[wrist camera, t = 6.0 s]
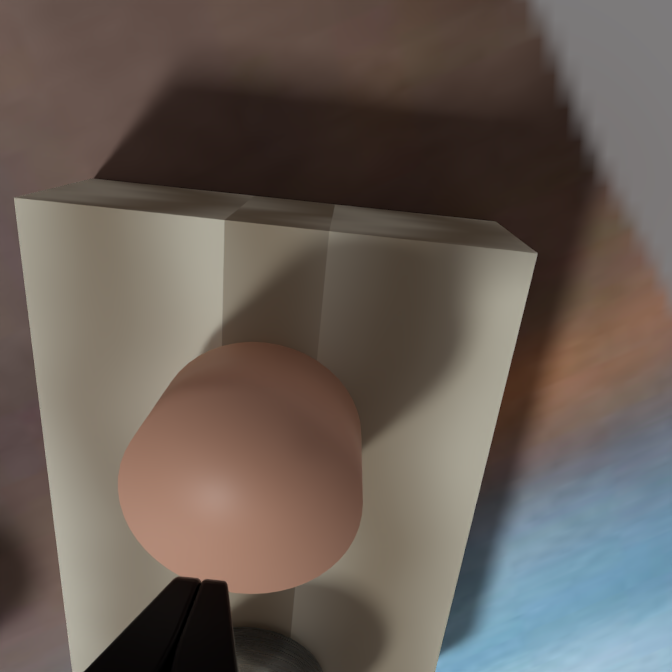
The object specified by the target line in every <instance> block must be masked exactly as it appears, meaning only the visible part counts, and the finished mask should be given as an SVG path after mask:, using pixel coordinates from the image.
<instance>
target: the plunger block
mask: <svg viewBox="0 0 672 672" xmlns="http://www.w3.org/2000/svg"><path fill="white" fill-rule="evenodd" d="M14 202H15V210H16V218H17V226H18V234H19V242H20V250H21V258H22V267H23V275H24V283H25V291H26V299H27V307H28V315H29V323H30V332H31V340H32V348H33V356H34V364H35V372H36V380H37V388H38V397H39V405H40V413H41V421H42V429H43V437H44V445H45V454H46V462H47V470H48V478H49V486H50V494H51V502H52V510H53V519H54V527H55V535H56V543H57V551H58V559H59V567H60V575H61V584H62V592H63V600H64V608H65V616H66V624H67V632H68V640H69V649H70V657H71V665H72V672H84V671H85V670H86V669H87V668H88V667H89V666H90V665H91V664H92V662H93V661H94V660H95V659H96V658H97V657H98V656H99V655H100V654H101V653H102V652H103V651H104V650H105V649H106V648H107V647H108V646H109V645H110V644H111V643H112V642H113V641H114V640H115V639H116V638H117V637H118V636H119V635H120V634H121V633H122V631H123V630H124V629H125V628H126V627H127V626H128V625H129V624H130V623H131V622H132V621H133V620H134V619H135V618H136V617H137V616H138V615H139V614H140V613H141V612H142V611H143V610H144V609H145V608H146V607H147V606H148V605H149V604H150V603H151V602H152V600H153V599H154V598H155V597H156V596H157V595H158V594H159V593H160V592H161V591H162V590H163V589H164V588H165V587H166V586H167V585H168V584H169V583H170V582H171V581H172V580H173V579H174V578H176V577H178V576H179V575H177V574H176V573H174V572H172V571H171V570H169V569H167V568H166V567H165V566H163V565H162V564H161V563H159V562H158V561H157V560H156V559H155V558H153V557H152V556H151V555H150V554H149V553H148V552H147V551H146V550H145V549H144V548H143V546H142V545H141V544H140V543H139V542H138V540H137V539H136V538H135V536H134V534H133V533H132V531H131V530H130V528H129V526H128V524H127V522H126V520H125V518H124V515H123V512H122V509H121V506H120V502H119V495H118V474H119V469H120V463H121V461H122V458H123V455H124V452H125V450H126V448H127V447H128V445H129V443H130V441H131V440H132V438H133V437H134V435H135V434H136V432H137V431H138V429H139V428H140V426H141V425H142V424H143V422H144V421H145V419H146V418H147V416H148V415H149V413H150V412H151V410H152V409H153V408H154V406H155V405H156V403H157V402H158V400H159V399H160V397H161V396H162V394H163V393H164V392H165V390H166V389H167V387H168V386H169V384H170V383H171V381H172V380H173V379H174V378H175V376H176V375H177V374H178V372H179V371H180V370H181V369H183V368H184V367H185V366H186V365H187V364H188V363H189V362H191V361H192V360H194V359H195V358H197V357H198V356H200V355H202V354H204V353H206V352H208V351H210V350H212V349H215V348H218V347H221V346H224V345H229V344H234V343H242V342H265V343H271V344H277V345H282V346H285V347H288V348H292V349H295V350H297V351H299V352H302V353H304V354H306V355H308V356H310V357H311V358H313V359H315V360H317V361H318V362H320V363H321V364H322V365H324V366H325V367H326V368H328V369H329V370H330V371H331V372H332V373H333V374H334V375H335V376H336V377H337V378H338V379H339V380H340V381H341V383H342V384H343V385H344V387H345V388H346V389H347V391H348V392H349V394H350V396H351V398H352V399H353V401H354V404H355V406H356V409H357V411H358V415H359V419H360V424H361V437H362V484H363V507H362V517H361V521H360V526H359V529H358V531H357V534H356V536H355V539H354V540H353V542H352V544H351V545H350V547H349V549H348V550H347V551H346V553H345V554H344V555H343V556H342V557H341V559H340V560H339V561H338V562H337V563H335V564H334V565H333V566H332V567H331V568H330V569H329V570H327V571H326V572H324V573H323V574H321V575H320V576H318V577H316V578H315V579H313V580H311V581H309V582H307V583H304V584H302V585H299V586H296V587H294V588H290V589H286V590H282V591H277V592H271V593H260V594H243V593H232V592H229V599H230V607H231V615H232V623H233V627H254V628H261V629H266V630H270V631H274V632H277V633H280V634H282V635H285V636H287V637H289V638H291V639H293V640H295V641H296V642H298V643H299V644H301V645H302V646H303V647H305V648H306V649H307V650H308V651H309V652H310V653H311V654H312V655H313V656H314V657H315V658H316V660H317V661H318V662H319V664H320V666H321V668H322V670H323V672H435V670H436V665H437V661H438V657H439V653H440V649H441V645H442V641H443V637H444V633H445V629H446V625H447V621H448V617H449V613H450V609H451V604H452V600H453V596H454V592H455V588H456V584H457V580H458V576H459V572H460V568H461V564H462V560H463V556H464V552H465V548H466V543H467V539H468V535H469V531H470V527H471V523H472V519H473V515H474V511H475V507H476V503H477V499H478V495H479V491H480V487H481V482H482V478H483V474H484V470H485V466H486V462H487V458H488V454H489V450H490V446H491V442H492V438H493V434H494V430H495V425H496V421H497V417H498V413H499V409H500V405H501V401H502V397H503V393H504V389H505V385H506V381H507V377H508V373H509V369H510V364H511V360H512V356H513V352H514V348H515V344H516V340H517V336H518V332H519V328H520V324H521V320H522V316H523V312H524V308H525V303H526V299H527V295H528V291H529V287H530V283H531V279H532V275H533V271H534V267H535V263H536V259H537V255H538V253H537V252H535V251H534V250H533V249H531V248H530V247H529V246H527V245H526V244H525V243H523V242H522V241H521V240H519V239H518V238H517V237H516V236H514V235H513V234H512V233H510V232H509V231H508V230H506V229H505V228H504V227H502V226H501V225H500V224H498V223H497V222H496V221H486V220H477V219H468V218H458V217H449V216H439V215H430V214H421V213H411V212H402V211H393V210H383V209H374V208H365V207H355V206H346V205H336V204H327V203H318V202H308V201H299V200H290V199H280V198H271V197H262V196H252V195H243V194H233V193H224V192H215V191H205V190H196V189H187V188H177V187H168V186H159V185H149V184H140V183H130V182H121V181H112V180H102V179H88V180H84V181H80V182H76V183H72V184H68V185H64V186H60V187H56V188H52V189H48V190H43V191H39V192H35V193H31V194H27V195H23V196H19V197H15V198H14Z"/></svg>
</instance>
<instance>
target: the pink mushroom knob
mask: <svg viewBox="0 0 672 672" xmlns="http://www.w3.org/2000/svg"><path fill="white" fill-rule="evenodd" d="M118 495H119V502H120V506H121V509H122V512H123V515H124V518H125V520H126V522H127V524H128V526H129V528H130V530H131V531H132V533H133V534H134V536H135V538H136V539H137V540H138V542H139V543H140V544H141V545H142V546H143V548H144V549H145V550H146V551H147V552H148V553H149V554H150V555H151V556H152V557H153V558H155V559H156V560H157V561H158V562H159V563H161V564H162V565H163V566H165V567H166V568H167V569H169V570H171V571H172V572H174V573H176V574H177V575H179V576H183V577H193V578H198V579H200V580H201V582H202V581H203V580H204V579H213V580H223V581H226V582H227V584H228V591H229V592H232V593H243V594H260V593H271V592H277V591H282V590H286V589H290V588H294V587H296V586H299V585H302V584H304V583H307V582H309V581H311V580H313V579H315V578H316V577H318V576H320V575H321V574H323V573H324V572H326V571H327V570H329V569H330V568H331V567H332V566H333V565H334V564H335V563H337V562H338V561H339V560H340V559H341V557H342V556H343V555H344V554H345V553H346V551H347V550H348V549H349V547H350V545H351V544H352V542H353V540H354V539H355V536H356V534H357V531H358V529H359V526H360V521H361V517H362V507H363V484H362V437H361V424H360V419H359V415H358V411H357V409H356V406H355V404H354V401H353V399H352V398H351V396H350V394H349V392H348V391H347V389H346V388H345V387H344V385H343V384H342V383H341V381H340V380H339V379H338V378H337V377H336V376H335V375H334V374H333V373H332V372H331V371H330V370H329V369H328V368H326V367H325V366H324V365H322V364H321V363H320V362H318V361H317V360H315V359H313V358H311V357H310V356H308V355H306V354H304V353H302V352H299V351H297V350H295V349H292V348H288V347H285V346H282V345H277V344H271V343H265V342H242V343H234V344H229V345H224V346H221V347H218V348H215V349H212V350H210V351H208V352H206V353H204V354H202V355H200V356H198V357H197V358H195V359H194V360H192V361H191V362H189V363H188V364H187V365H186V366H185V367H184V368H183V369H181V370H180V371H179V372H178V374H177V375H176V376H175V378H174V379H173V380H172V381H171V383H170V384H169V386H168V387H167V389H166V390H165V392H164V393H163V394H162V396H161V397H160V399H159V400H158V402H157V403H156V405H155V406H154V408H153V409H152V410H151V412H150V413H149V415H148V416H147V418H146V419H145V421H144V422H143V424H142V425H141V426H140V428H139V429H138V431H137V432H136V434H135V435H134V437H133V438H132V440H131V441H130V443H129V445H128V447H127V448H126V450H125V452H124V455H123V458H122V461H121V463H120V469H119V474H118Z"/></svg>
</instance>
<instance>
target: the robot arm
mask: <svg viewBox="0 0 672 672" xmlns="http://www.w3.org/2000/svg"><path fill="white" fill-rule="evenodd" d="M84 672H239V671H238V663H237V655H236V647H235V639H234V631H233V623H232V615H231V607H230V599H229V591H228V584H227V582H226V581H223V580H213V579H204V580H203V581H202V582H201V580H200V579H198V578H193V577H183V576H178V577H176V578H174V579H173V580H172V581H171V582H170V583H169V584H168V585H167V586H166V587H165V588H164V589H163V590H162V591H161V592H160V593H159V594H158V595H157V596H156V597H155V598H154V599H153V600H152V602H151V603H150V604H149V605H148V606H147V607H146V608H145V609H144V610H143V611H142V612H141V613H140V614H139V615H138V616H137V617H136V618H135V619H134V620H133V621H132V622H131V623H130V624H129V625H128V626H127V627H126V628H125V629H124V630H123V631H122V633H121V634H120V635H119V636H118V637H117V638H116V639H115V640H114V641H113V642H112V643H111V644H110V645H109V646H108V647H107V648H106V649H105V650H104V651H103V652H102V653H101V654H100V655H99V656H98V657H97V658H96V659H95V660H94V661H93V662H92V664H91V665H90V666H89V667H88V668H87V669H86V670H85V671H84Z"/></svg>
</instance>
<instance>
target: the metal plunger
mask: <svg viewBox="0 0 672 672" xmlns="http://www.w3.org/2000/svg"><path fill="white" fill-rule="evenodd" d="M233 631H234V639H235V647H236V655H237V663H238V671H239V672H323V670H322V668H321V666H320V664H319V662H318V661H317V660H316V658H315V657H314V656H313V655H312V654H311V653H310V652H309V651H308V650H307V649H306V648H305V647H303V646H302V645H301V644H299V643H298V642H296V641H295V640H293V639H291V638H289V637H287V636H285V635H282V634H280V633H277V632H274V631H270V630H266V629H261V628H254V627H233Z"/></svg>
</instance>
